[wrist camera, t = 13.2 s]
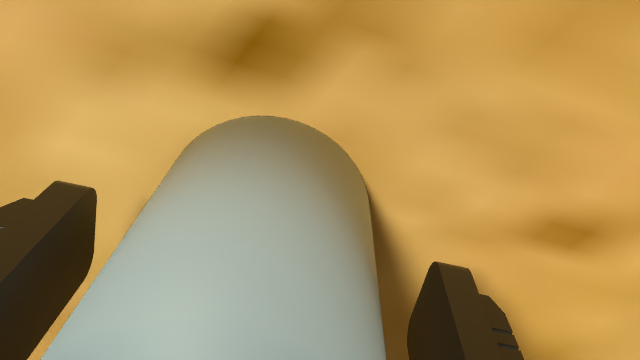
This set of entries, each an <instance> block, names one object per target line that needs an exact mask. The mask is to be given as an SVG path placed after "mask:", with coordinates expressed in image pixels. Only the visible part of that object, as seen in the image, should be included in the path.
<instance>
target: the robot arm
mask: <svg viewBox="0 0 640 360" xmlns="http://www.w3.org/2000/svg"><path fill="white" fill-rule="evenodd" d="M96 204H97V195H96V191H95V189H94V188H90V187H86V186H81V185H76V184H71V183H67V182H62V181H55V182H53V183H52V184H51V185H50V186H49V187H48V188H46V189H45V190H44V191H43V192H42V193H41V194H40V195H39V196H38V197H36V198H35V199H34V200H31V199H27V198H22V199H20V200H17V201H15V202H12V203H10V204H7V205H5V206H2V207H0V360H27V359H28V357H29V356H30V355H31V353H32V352H33V350H34V349H35V348H36V346H37V345H38V343H39V342H40V341H41V339H42V338H43V337H44V335H45V334H46V332H47V331H48V330H49V328H50V327H51V325H52V324H53V323H54V321H55V320H56V318H57V317H58V316H59V314H60V313H61V312H62V310H63V309H64V307H65V306H66V305H67V303H68V302H69V300H70V299H71V298H72V296H73V295H74V293H75V292H76V291H77V289H78V288H79V287H80V285H81V284H82V282H83V281H84V279H85V278H86V276H87V274H88V271H89V269H90V266H91V263H92V259H93V254H94V240H95V222H96ZM407 346H408V353H409V359H410V360H524V358H523V356H522V354H521V351H518V348H519V346H518V344H517V342H516V339H515V337H514V335H512V330H511V327H510V325H509V323H508V320H507V318H506V315H505V313H504V312H503V311H502V310H501V309H500V308H499V307H498V306H497V305H496V303H495V302H494V301H493V300H492V299H491V298H490V297H489V296H486V295H481V294H479V293H478V290H477V287H476V285H475V282H474V279H473V277H472V274H471V272H470V270H469V269H468V268H464V267H459V266H455V265H450V264H445V263H440V262H433V263H432V264H431V266H430V268H429V270H428V272H427V275H426V278H425V280H424V283H423V286H422V288H421V291H420V294H419V296H418V299H417V302H416V304H415V307H414V310H413V313H412V315H411V318H410V322H409V327H408V334H407Z"/></svg>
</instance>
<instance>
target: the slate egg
mask: <svg viewBox="0 0 640 360" xmlns="http://www.w3.org/2000/svg"><path fill="white" fill-rule="evenodd" d="M41 360H386V351H385V342H384V333H383V324H382V315H381V306H380V297H379V287H378V278H377V269H376V260H375V251H374V242H373V233H372V224H371V215H370V206H369V198H368V194H367V189H366V186H365V183H364V181H363V178H362V175H361V174H360V172H359V170H358V168H357V167H356V165H355V163H354V162H353V161H352V159H351V158H350V157H349V155H348V154H347V153H346V152H345V151H344V150H343V149H342V148H341V147H340V146H339V145H338V144H337V143H336V142H334V141H333V140H332V139H330V138H329V137H328V136H327V135H325V134H323V133H322V132H320V131H318V130H316V129H315V128H313V127H310V126H308V125H306V124H303V123H301V122H297V121H294V120H290V119H287V118H281V117H274V116H250V117H242V118H237V119H233V120H229V121H226V122H224V123H221V124H218V125H216V126H214V127H212V128H210V129H208V130H206V131H205V132H203V133H202V134H201V135H199V136H198V137H196V138H195V139H194V140H193V141H192V142H191V143H190V144H189V145H188V146H187V147H186V148H185V149H184V150H183V152H182V153H181V154H180V156H179V157H178V158H177V160H176V161H175V163H174V164H173V166H172V167H171V168H170V170H169V171H168V173H167V174H166V176H165V177H164V179H163V180H162V182H161V183H160V185H159V186H158V188H157V189H156V191H155V192H154V193H153V195H152V196H151V198H150V199H149V201H148V202H147V204H146V205H145V207H144V208H143V210H142V211H141V213H140V214H139V216H138V217H137V218H136V220H135V221H134V223H133V224H132V226H131V227H130V229H129V230H128V232H127V233H126V235H125V236H124V238H123V239H122V241H121V242H120V243H119V245H118V246H117V248H116V249H115V251H114V252H113V254H112V255H111V257H110V258H109V260H108V261H107V263H106V264H105V266H104V267H103V268H102V270H101V271H100V273H99V274H98V276H97V277H96V279H95V280H94V282H93V283H92V285H91V286H90V288H89V289H88V291H87V292H86V293H85V295H84V296H83V298H82V299H81V301H80V302H79V304H78V305H77V307H76V308H75V310H74V311H73V313H72V314H71V316H70V317H69V318H68V320H67V321H66V323H65V324H64V326H63V327H62V329H61V330H60V332H59V333H58V335H57V336H56V338H55V339H54V341H53V342H52V343H51V345H50V346H49V348H48V349H47V351H46V352H45V354H44V355H43V357H42V358H41Z"/></svg>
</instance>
